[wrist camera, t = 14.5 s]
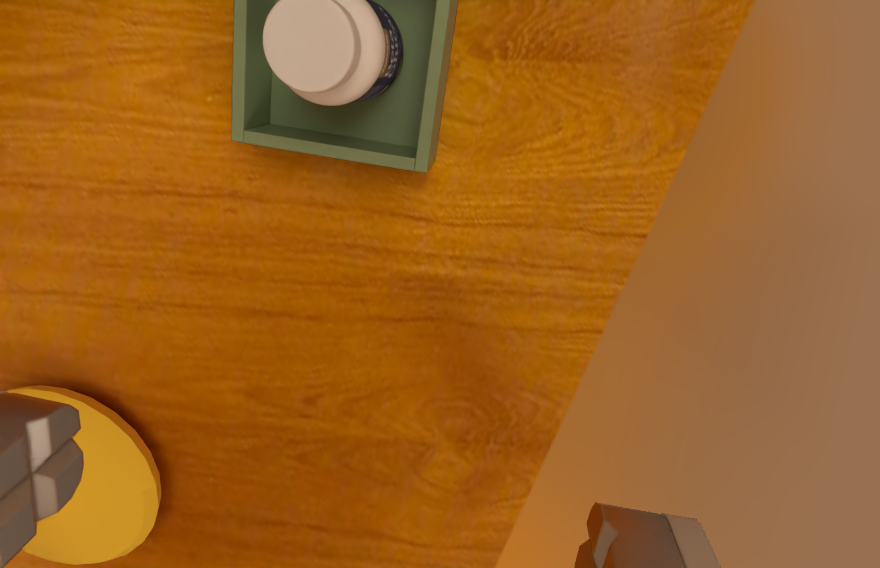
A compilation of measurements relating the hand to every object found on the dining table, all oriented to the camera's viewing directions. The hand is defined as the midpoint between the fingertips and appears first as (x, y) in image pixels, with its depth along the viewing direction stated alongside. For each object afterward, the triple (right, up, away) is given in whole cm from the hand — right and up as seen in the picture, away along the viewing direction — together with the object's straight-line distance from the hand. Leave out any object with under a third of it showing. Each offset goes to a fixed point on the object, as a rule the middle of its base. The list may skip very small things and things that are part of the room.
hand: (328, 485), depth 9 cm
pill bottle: (-3, +17, +25) cm, 30 cm away
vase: (-27, -11, +38) cm, 47 cm away
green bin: (-3, +17, +25) cm, 30 cm away
